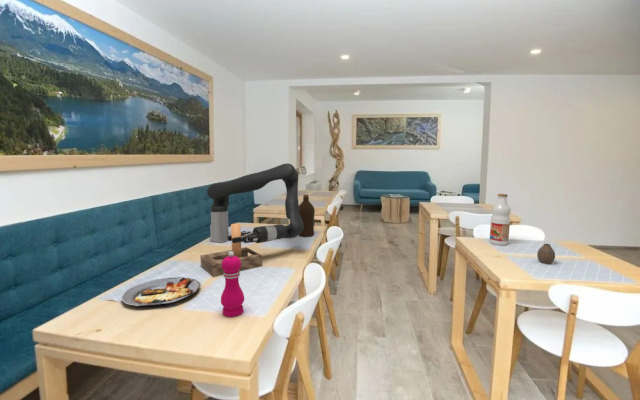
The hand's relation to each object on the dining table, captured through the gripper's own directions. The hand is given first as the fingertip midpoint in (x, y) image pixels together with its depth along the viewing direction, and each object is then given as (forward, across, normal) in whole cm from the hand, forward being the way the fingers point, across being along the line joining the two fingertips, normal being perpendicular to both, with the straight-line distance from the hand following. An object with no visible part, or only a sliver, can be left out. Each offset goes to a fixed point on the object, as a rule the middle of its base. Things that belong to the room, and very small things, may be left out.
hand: (230, 239), depth 148 cm
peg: (-3, 0, +12) cm, 12 cm away
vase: (-119, +82, +13) cm, 145 cm away
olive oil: (-60, -27, +13) cm, 67 cm away
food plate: (+31, +14, +12) cm, 37 cm away
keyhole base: (0, 0, +12) cm, 12 cm away
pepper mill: (+17, +42, +12) cm, 47 cm away
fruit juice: (-136, +53, +13) cm, 146 cm away
